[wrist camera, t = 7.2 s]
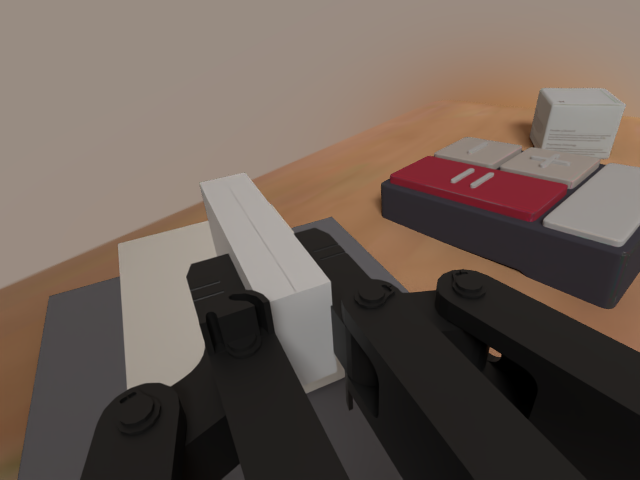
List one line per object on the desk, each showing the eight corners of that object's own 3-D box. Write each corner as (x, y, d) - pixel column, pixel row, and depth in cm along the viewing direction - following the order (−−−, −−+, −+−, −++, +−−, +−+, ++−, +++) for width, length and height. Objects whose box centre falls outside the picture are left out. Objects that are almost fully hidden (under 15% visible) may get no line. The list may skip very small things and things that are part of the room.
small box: (610, 161, 36) (628, 103, 33) (537, 158, 37) (550, 103, 35) (591, 138, 41) (606, 86, 38) (527, 137, 42) (538, 86, 39)
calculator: (464, 131, 35) (694, 165, 25) (460, 179, 37) (670, 229, 27) (377, 173, 29) (634, 241, 19) (379, 227, 31) (610, 315, 21)
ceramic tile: (128, 416, 14) (117, 243, 23) (151, 462, 15) (132, 282, 25) (367, 324, 17) (271, 204, 26) (368, 370, 18) (276, 240, 27)
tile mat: (-45, 916, 8) (-59, 917, 8) (52, 302, 24) (49, 296, 24) (600, 490, 14) (604, 482, 14) (332, 222, 30) (331, 216, 30)
